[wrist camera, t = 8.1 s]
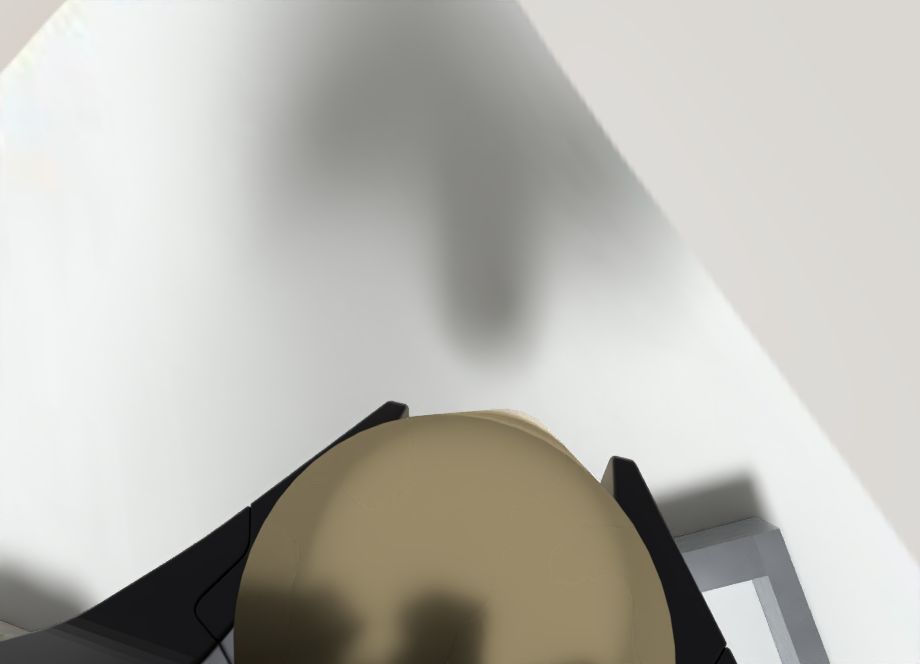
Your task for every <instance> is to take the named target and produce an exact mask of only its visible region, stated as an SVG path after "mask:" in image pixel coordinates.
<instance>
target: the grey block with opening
mask: <svg viewBox="0 0 920 664" xmlns="http://www.w3.org/2000/svg"><path fill="white" fill-rule="evenodd" d="M674 540H675V542H676V544H677V546H678V548H679V550H680V552H681V554H682V556H683V558H684V560H685V562H686V564H687V566H688V568H689V570H690V572H691V574H692V576H693V578H694V579H695V581H696V583H697V585H698V587H699V589H700V591H701V592H704V591H708V590H712V589H716V588H720V587H724V586H728V585H732V584H736V583H740V582H744V581H748V580H753V583H754V586H755V588H756V591H757V594H758V597H759V600H760V602H761V605H762V608H763V611H764V613H765V616H766V619H767V622H768V624H769V627H770V630H771V633H772V636H773V638H774V641H775V644H776V647H777V649H778V652H779V655H780V658H781V660H782V663H783V664H830V662H829V660H828V657H827V654H826V652H825V649H824V646H823V644H822V641H821V638H820V636H819V633H818V630H817V628H816V625H815V622H814V620H813V617H812V614H811V612H810V609H809V606H808V604H807V601H806V598H805V596H804V593H803V590H802V588H801V585H800V582H799V580H798V577H797V574H796V572H795V569H794V566H793V564H792V561H791V558H790V556H789V553H788V550H787V548H786V545H785V542H784V540H783V537H782V534H781V532H780V529H779V528H777V527H775V526H773V525H771V524H769V523H767V522H765V521H763V520H761V519H759V518H757V517H753V518H749V519H745V520H741V521H737V522H733V523H729V524H726V525H722V526H718V527H714V528H710V529H706V530H702V531H699V532H695V533H691V534H687V535H683V536H679V537H676V538H674Z"/></svg>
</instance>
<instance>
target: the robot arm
mask: <svg viewBox="0 0 920 664" xmlns="http://www.w3.org/2000/svg"><path fill="white" fill-rule="evenodd" d="M407 417H409V408H408V406H407V405H406V404H403V403H399V402H395V401H388V402H386V403H385V404H383V405H382V406H381V407H379V408H378V409H377V410H375V411H374V412H373V413H371V414H370V415H369V416H367V417H366V418H365V419H363V420H362V421H361V422H359V423H358V424H357V425H355V426H354V427H353V428H351V429H350V430H349V431H347V432H346V433H345V434H343V435H342V436H341V437H339V438H338V439H337V440H335V441H334V442H333V443H331V444H330V445H329V446H327V447H326V448H325V449H323V450H322V451H321V452H319V453H318V454H317V455H315V456H314V457H313V458H311V459H310V460H309V461H307V462H306V463H305V464H303V465H302V466H301V467H299V468H298V469H297V470H295V471H294V472H293V473H291V474H290V475H289V476H287V477H286V478H285V479H283V480H282V481H281V482H279V483H278V484H277V485H275V486H274V487H273V488H271V489H270V490H269V491H267V492H266V493H265V494H263V495H262V496H261V497H259V498H258V499H257V500H255V501H254V502H253V503H251V508H250V507H249V506H247V507H246V508H244V509H243V510H242V511H240V512H239V513H238V514H236V515H235V516H234V517H232V518H231V519H230V520H228V521H227V522H225V523H224V524H222V525H221V526H220V527H218V528H217V529H215V530H214V531H213V532H211V533H210V534H208V535H207V536H206V537H204V538H203V539H201V540H200V541H198V542H197V543H195V544H193V545H192V546H190V547H189V548H187V549H186V550H184V551H183V552H181V553H180V554H178V555H177V556H175V557H173V558H172V559H170V560H169V561H167V562H165V563H164V564H162V565H160V566H159V567H157V568H156V569H154V570H152V571H151V572H149V573H148V574H146V575H144V576H143V577H141V578H140V579H138V580H136V581H135V582H133V583H131V584H130V585H128V586H127V587H125V588H123V589H122V590H120V591H119V592H117V593H115V594H114V595H112V596H110V597H109V598H107V599H106V600H104V601H102V602H101V603H99V604H97V605H95V606H94V607H92V608H90V609H88V610H86V611H85V612H83V613H81V614H79V615H77V616H75V617H72V618H70V619H68V620H65V621H63V622H61V623H58V624H55V625H53V626H50V627H47V628H44V629H40V630H37V631H33V632H30V633H26V634H22V635H19V636H15V637H12V638H8V639H4V640H1V641H0V664H234V647H233V632H234V621H235V610H236V603H237V598H238V593H239V588H240V583H241V579H242V575H243V572H244V569H245V566H246V563H247V560H248V557H249V554H250V551H251V548H252V546H253V544H254V542H255V540H256V538H257V536H258V534H259V531H260V529H261V527H262V525H263V523H264V522H265V520H266V518H267V517H268V515H269V514H270V512H271V510H272V509H273V507H274V506H275V504H276V503H277V501H278V500H279V498H280V497H281V496H282V495H283V493H284V492H285V491H286V490H287V489H288V487H289V486H290V485H291V484H292V482H293V481H294V480H295V479H296V478H297V477H298V476H299V475H300V474H301V473H302V472H303V471H304V470H305V469H306V468H308V467H309V466H310V465H311V464H312V463H313V462H314V461H315V460H316V459H318V458H319V457H321V456H322V455H323V454H325V453H326V452H327V451H329V450H330V449H331V448H333V447H334V446H336V445H337V444H339V443H341V442H343V441H345V440H346V439H348V438H350V437H352V436H354V435H356V434H357V433H359V432H362V431H364V430H367V429H370V428H372V427H375V426H378V425H380V424H383V423H386V422H390V421H395V420H399V419H403V418H407ZM600 484H601V485H602V486H603V487H604V488H605V489H606V490H607V491H608V492H609V494H610V495H611V496H612V497H613V498H614V499H615V500H616V502H617V503H618V504H619V506H620V507H621V509H622V510H623V511H624V513H625V514H626V515H627V517H628V518H629V519H630V521H631V522H632V523H633V525H634V527H635V529H636V530H637V532H638V534H639V536H640V538H641V539H642V541H643V543H644V545H645V546H646V548H647V550H648V552H649V554H650V557H651V559H652V561H653V564H654V566H655V569H656V571H657V573H658V576H659V578H660V581H661V584H662V587H663V591H664V594H665V598H666V602H667V605H668V609H669V612H670V618H671V625H672V631H673V638H674V644H675V664H737V662H736V660H735V658H734V656H733V654H732V652H731V650H730V649H729V648H728V647H726V645H727V643H726V641H725V639H724V637H723V635H722V633H721V631H720V629H719V627H718V625H717V623H716V621H715V619H714V617H713V615H712V613H711V611H710V609H709V607H708V605H707V603H706V601H705V599H704V597H703V595H702V593H701V591H700V589H699V587H698V585H697V583H696V581H695V579H694V578H693V576H692V574H691V572H690V570H689V568H688V566H687V564H686V562H685V560H684V558H683V556H682V554H681V552H680V550H679V548H678V546H677V544H676V542H675V540H674V538H673V536H672V534H671V532H670V530H669V528H668V526H667V524H666V522H665V520H664V518H663V516H662V514H661V512H660V510H659V508H658V506H657V505H656V503H655V501H654V499H653V497H652V495H651V493H650V491H649V489H648V487H647V485H646V483H645V481H644V479H643V477H642V475H641V473H640V471H639V469H638V467H637V465H636V463H635V462H634V461H633V460H631V459H627V458H623V457H619V456H612V457H611V458H610V460H609V462H608V465H607V467H606V470H605V472H604V475H603V478H602V480H601V483H600ZM725 647H726V648H725Z"/></svg>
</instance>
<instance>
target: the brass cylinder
mask: <svg viewBox="0 0 920 664" xmlns="http://www.w3.org/2000/svg"><path fill="white" fill-rule="evenodd" d="M233 647H234V664H675V644H674V638H673V631H672V625H671V618H670V612H669V609H668V605H667V602H666V598H665V594H664V591H663V587H662V584H661V581H660V578H659V576H658V573H657V571H656V569H655V566H654V564H653V561H652V559H651V557H650V554H649V552H648V550H647V548H646V546H645V545H644V543H643V541H642V539H641V538H640V536H639V534H638V532H637V530H636V529H635V527H634V525H633V523H632V522H631V521H630V519H629V518H628V517H627V515H626V514H625V513H624V511H623V510H622V509H621V507H620V506H619V504H618V503H617V502H616V500H615V499H614V498H613V497H612V496H611V495H610V494H609V492H608V491H607V490H606V489H605V488H604V487H603V486H602V485H601V484H600V483H599V482H598V481H597V480H596V479H595V478H594V477H593V476H592V475H591V474H590V472H589V471H588V470H587V469H586V468H585V467H584V466H583V465H582V464H581V463H580V462H579V461H578V460H577V459H576V458H575V457H574V456H573V455H572V454H571V453H570V452H569V450H568V449H567V448H566V447H565V446H564V445H563V444H562V443H561V442H560V441H559V440H558V439H557V438H556V437H555V436H554V435H553V434H552V433H551V432H550V431H549V430H548V428H547V427H546V426H544V425H543V424H542V423H541V422H540V421H538V420H537V419H535V418H533V417H532V416H530V415H527V414H525V413H522V412H519V411H515V410H509V409H497V410H484V411H472V412H459V413H447V414H434V415H424V416H414V417H407V418H403V419H399V420H395V421H390V422H386V423H383V424H380V425H378V426H375V427H372V428H370V429H367V430H364V431H362V432H359V433H357V434H356V435H354V436H352V437H350V438H348V439H346V440H345V441H343V442H341V443H339V444H337V445H336V446H334V447H333V448H331V449H330V450H329V451H327V452H326V453H325V454H323V455H322V456H321V457H319V458H318V459H316V460H315V461H314V462H313V463H312V464H311V465H310V466H309V467H308V468H306V469H305V470H304V471H303V472H302V473H301V474H300V475H299V476H298V477H297V478H296V479H295V480H294V481H293V482H292V484H291V485H290V486H289V487H288V489H287V490H286V491H285V492H284V493H283V495H282V496H281V497H280V498H279V500H278V501H277V503H276V504H275V506H274V507H273V509H272V510H271V512H270V514H269V515H268V517H267V518H266V520H265V522H264V523H263V525H262V527H261V529H260V531H259V534H258V536H257V538H256V540H255V542H254V544H253V546H252V548H251V551H250V554H249V557H248V560H247V563H246V566H245V569H244V572H243V575H242V579H241V583H240V588H239V593H238V598H237V603H236V610H235V621H234V632H233Z"/></svg>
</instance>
